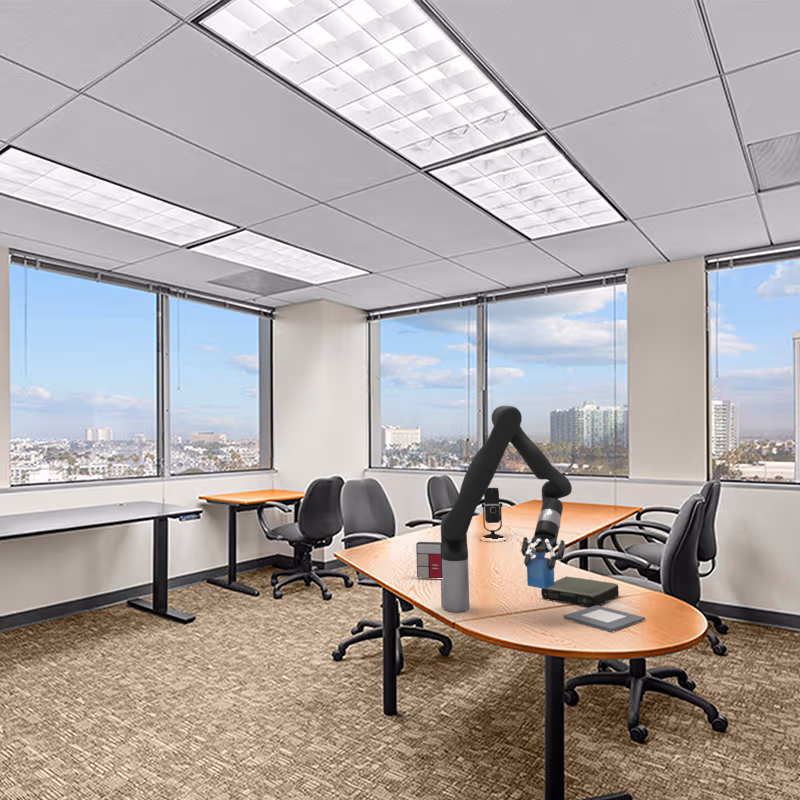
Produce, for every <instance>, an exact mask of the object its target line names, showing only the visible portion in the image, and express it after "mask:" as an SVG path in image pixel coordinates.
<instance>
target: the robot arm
mask: <svg viewBox="0 0 800 800" xmlns="http://www.w3.org/2000/svg"><path fill="white" fill-rule="evenodd" d="M522 417H523V416H522V413H521V411H520V409H519V408H518V407H516V406H512V405H500V406H498V407H497V406H496V408H495V409H494V410H493V411H492V413H491V422H492V424H493V427H492V430H491V432H490V434H489V436H488V438H487V440H486V441H485V442H484V444H483V445H482V446H481V448H479V450H478V451H477V452H476V454H475V455H474V457H473V458H472V460H471V461H470V464H469V466H468V468H467V470H466V472H465V475H464V477H463V480H462V483H461V487H460V490H459V494H458V496H457V497H456V500H455V503H453V506H452V508H451V509H450V511H449V512H447V513H445V514H444V515H443V517H442V519H441V521H440V539H441V540H440V542H441V550H442V577H443V579H442V580H440V598H441V599H440V602H441V604H440V605H441V608H442V609H443V610H444V611H447V612H453V613H461V612H466V610H467V611H469V610H470V605H471V604H470V578H469V576H470V574H469V573H470V571H469V569H470V568H469V549H468V534H467V533H468V532H469V531H468V530H469V528H470V526H471V522H472V520H473V516H474V514H475V512H476V510H477V508H478V506H479V504H480V502H481V500H482V499H483V497H484V494H485V492H486V490H487V488H490V484H491V483H492V480H493V479H494V476H495V474H496V472H497V470H498V467H499V465H500V463H501V462H502V458H503V457H504V455H505V452H506V450H507V448H508V446H509V444H511V445H512V446H513V447H514V448H515V450H516V451H517V453H518V454H519V455H520V457H521V458H522V459H523V460H524V462H525V463H526V466H528V468H529V469H530V471H531V472H532V473H533V475H534V476H535V478H537V479H538V480H546V482H545V483H544V484H542V487H541V499H542V500H541V502H542V505H541V508H540V512H539V514H538V515H539V516H538V518H537V522H536V526H535V529H534V535H533V537H532V538H528V537H527V536H524V537H523V540H522V545H521V549H520V551H521V554H522V556H523V557H524V560H523V563H524V565H525V568H527V565H528V564H529V562H530V560H531V559H532V558H533V557H534V555H535V551H536V550H535V548H536V547H543V548H545V550H544V551H545V554H550V558H549V559H550V562H549V569H550V570H552V569H554V570H555V567H556V564H557V563H556V562H557V560H560V561H561V560H563V559H564V554H565V549H566V547H567V546H566V542H565V541H564V540H562V539H561V540H558V536H559V532H560V528H561V521H562V520H561V519H562V514H563V508H564V504H563V501H561V500H560V499H562V498H565V497H568V496H569V495H571V493H572V491H573V490H572V489H573V488H572V483H571V482H570V480H569V479H568V478H567V477H566V475H564V474H563V473H562V472H561V471H559V470H558V469H557V468H556V467H555V466H553V464H552V463H551V462H550V461H549V459H548V458H547V456H546V455H545V454H544V452H543V451H542V450H541V449H540V448H539V447H538V446H537V445H536V443H534V442H533V440H531V438H529V436H528V435H527V434H526V433H525V431H524V430H523V428H522V427H521V423H522ZM529 546H530V547H529ZM556 547H558V550H557V553H555V551H554V549H555V548H556ZM535 556H536V555H535ZM468 609H469V610H468Z"/></svg>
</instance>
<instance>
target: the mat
mask: <svg viewBox="0 0 800 800" xmlns="http://www.w3.org/2000/svg"><path fill="white" fill-rule="evenodd" d="M562 617H563V618H564V620H566V621H570V620H572V621H571V622H574V621H575V623H577V622H578V624H580V625H583V626H584V625H585V626H588V627H592V628H595V629H599V630H602V631H605V630H606V632H609V631H610V632H609V633H614V632H613V631H615V632H617V631H620V630H622V628H623V629H625V628H624V627H626V628H628V627H631V626H634V625H636V624H635V623H637V624H639V623H638V622H640V623H642V622H644V621H643V620H645V621H646V617H645V616H641V615H637V614H634V613H633V614H632V613H630V612H625V611H621V610H618V609H613V608H609V607H605V606H601V605H599V606H598V605H596V606H592V607H585V608H583V609H579V610H576V611H574V612H570V613H568V614H567V613H566V614H564V615H563V616H562ZM641 621H642V622H641ZM633 624H634V625H633ZM630 625H631V626H630ZM627 626H628V627H627ZM619 629H620V630H619ZM616 630H617V631H616Z"/></svg>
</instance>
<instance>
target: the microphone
mask: <svg viewBox="0 0 800 800" xmlns="http://www.w3.org/2000/svg"><path fill="white" fill-rule="evenodd" d="M483 497H484V498H483V499H484V503H481V507H482V511H483V512H482V515H483V517H482V518H483V528H484V529H485V530H486V531H487V532H490V533H488V534H486V535H482V536H483V537H485V538H492V539H498V538H503V537H504V536H505V535H501V534H497V533H496V532H499V531H500V530H501V529H502V527H503V525H502V523H503V522H502V520H503V518H502V508H503V503H502V502H500V492H499V488H498V487H488V488H487V490H486V492H485V494H484V496H483ZM485 522H486V523H487V524H498V523H500V524H499V525H500V526H499V527H498V528H497V529H493V530H492V529H488V528H487V527H486V523H485Z"/></svg>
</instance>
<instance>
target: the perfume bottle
mask: <svg viewBox="0 0 800 800" xmlns="http://www.w3.org/2000/svg"><path fill="white" fill-rule="evenodd" d="M535 550H536V551H535V557H531V560H530V562H529V564H528V565H527V567H526V573H527V574H526V575H527V576H526V580H527V586H529V587H533V588H537V589H546V588H548V587H551V586H554V582H555V568H554V569H552V570H550V569H549V562H550V558H549V557H546V554H547V553H545V551H544V550H545V548H543V547H536V548H535Z"/></svg>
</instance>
